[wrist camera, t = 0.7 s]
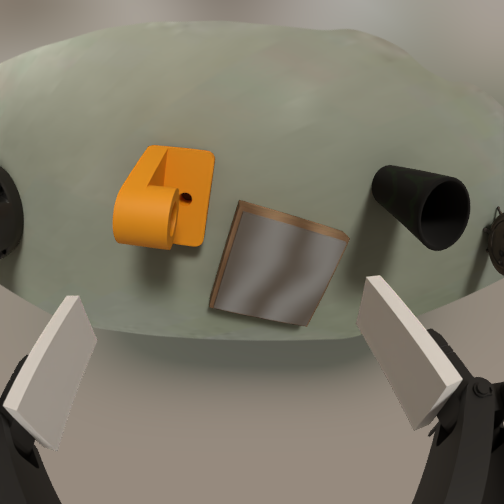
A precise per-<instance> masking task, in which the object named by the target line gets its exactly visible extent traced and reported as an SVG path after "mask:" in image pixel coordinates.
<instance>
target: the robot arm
mask: <svg viewBox="0 0 504 504" xmlns="http://www.w3.org/2000/svg"><path fill="white" fill-rule="evenodd" d="M22 230H23V211H22V205H21V200H20V197H19V193H18V191H17V188H16V186H15V184H14V182H13V180H12V178H11V177H10V175H9V174H8V173H7V172H6V171H5V170H4V169H3V168H2V167H0V259H2V258H4V257H6V256H7V255H8V254H9V253H11V252H12V251H13V250H14V249H15V248H16V247H17V245H18V244H19V242H20V239H21V236H22ZM356 325H357V326H358V328H359V330H360V331H361V333H362V335H363V337H364V338H365V340H366V341H367V344H368V345H369V347H370V349H371V351H372V352H373V354H374V356H375V358H376V360H377V361H378V363H379V365H380V367H381V369H382V370H383V372H384V374H385V376H386V378H387V380H388V381H389V383H390V385H391V387H392V389H393V391H394V393H395V395H396V396H397V398H398V400H399V402H400V404H401V406H402V408H403V410H404V412H405V414H406V416H407V418H408V420H409V422H410V424H411V426H412V428H413V430H414V431H415V430H417V429H419V428H422V427H424V426H426V425H429V424H430V423H431V422H432V421H433V419H434V418H435V417H436V416H437V417H438V419H439V422H438V423H437V424H436V426H435V427H434V428H433V429H432V430H431V431H430V433H429V435H428V436H431V435H432V434H433V433H434V432H435V434H434V438H433V442H432V446H431V449H430V453H429V457H428V460H427V463H426V466H425V469H424V472H423V475H422V478H421V481H420V484H419V487H418V490H417V492H416V495H415V498H414V500H413V502H412V504H504V426H503V422H504V382H501V383H494V384H491V383H490V382H489V381H488V380H486V379H484V378H481V377H475V378H474V377H473V376H472V375H471V373H470V372H469V371H468V369H467V368H466V367H465V366H464V364H463V363H462V361H461V360H460V359H459V357H458V356H457V355H456V353H455V352H453V349H452V348H451V347H450V346H448V343H447V342H446V341H445V339H444V338H443V337H442V336H441V335H440V334H439V333H437V332H436V331H434V330H433V329H428V330H426V329H425V328H424V327H423V325H421V323H420V322H419V321H418V319H417V318H416V317H415V316H414V314H413V313H412V312H411V311H410V309H409V308H408V307H407V306H406V305H405V303H404V302H403V301H402V300H401V299H400V298H399V296H398V295H397V294H396V293H395V292H394V291H393V289H392V288H391V287H390V286H389V285H388V284H387V283H386V281H385V280H384V279H383V278H382V277H381V276H380V275H378V276H370V277H366V280H365V285H364V290H363V295H362V299H361V304H360V308H359V313H358V317H357V321H356ZM96 343H97V338H96V336H95V333H94V331H93V329H92V327H91V324H90V322H89V319H88V317H87V315H86V312H85V310H84V307H83V304H82V302H81V299H80V296H66V298H65V299H64V300H63V302H62V303H61V305H60V306H59V308H58V309H57V311H56V312H55V314H54V315H53V317H52V318H51V320H50V321H49V323H48V324H47V326H46V328H45V329H44V331H43V332H42V334H41V335H40V337H39V339H38V340H37V342H36V344H35V345H34V347H33V349H32V350H31V352H30V354H29V355H26V356H25V357H24V358H23V359H22V360H21V361H20V362H19V363H18V365H17V367H16V369H15V370H14V373H13V374H12V376H11V378H10V380H9V382H8V383H7V386H6V388H5V389H4V391H3V393H2V395H1V398H0V504H61V502H60V500H59V498H58V496H57V494H56V492H55V490H54V488H53V486H52V484H51V481H50V479H49V477H48V475H47V472H46V470H45V467H44V465H43V462H42V460H41V457H40V455H39V452H38V449H37V448H36V446H35V445H34V442H35V440H36V441H38V442H39V443H40V444H41V445H42V446H43V447H46V448H49V449H52V450H55V451H58V448H59V445H60V441H61V438H62V435H63V431H64V428H65V425H66V422H67V418H68V415H69V413H70V409H71V407H72V404H73V401H74V398H75V395H76V393H77V390H78V387H79V385H80V382H81V379H82V377H83V374H84V372H85V369H86V367H87V364H88V362H89V359H90V357H91V354H92V352H93V349H94V347H95V345H96Z"/></svg>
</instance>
